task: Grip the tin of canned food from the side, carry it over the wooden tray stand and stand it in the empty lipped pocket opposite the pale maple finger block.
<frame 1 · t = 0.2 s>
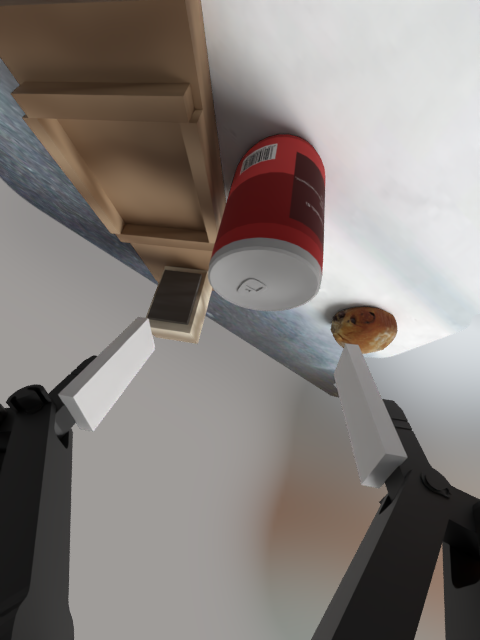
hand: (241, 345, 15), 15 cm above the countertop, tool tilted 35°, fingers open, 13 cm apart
wooden tray stand: (171, 203, 24), on the countertop
canned food: (278, 180, 20), on the countertop
bread roll: (360, 317, 40), on the countertop
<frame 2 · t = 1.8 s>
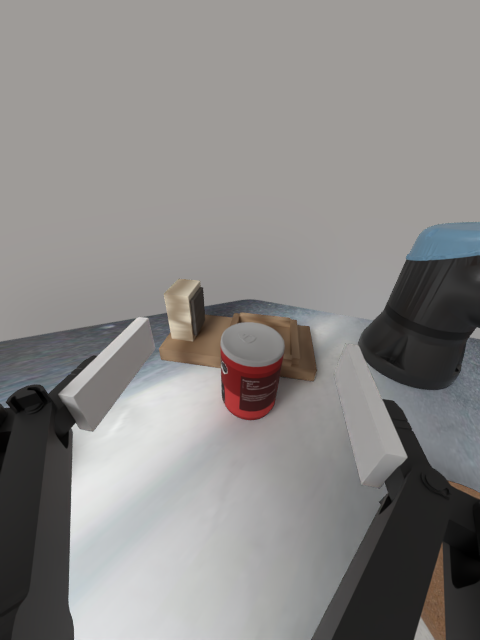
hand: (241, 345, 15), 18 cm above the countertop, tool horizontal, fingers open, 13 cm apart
wooden tray stand: (240, 347, 42), on the countertop
lidded jar: (431, 597, 18), on the countertop
canned food: (247, 398, 33), on the countertop
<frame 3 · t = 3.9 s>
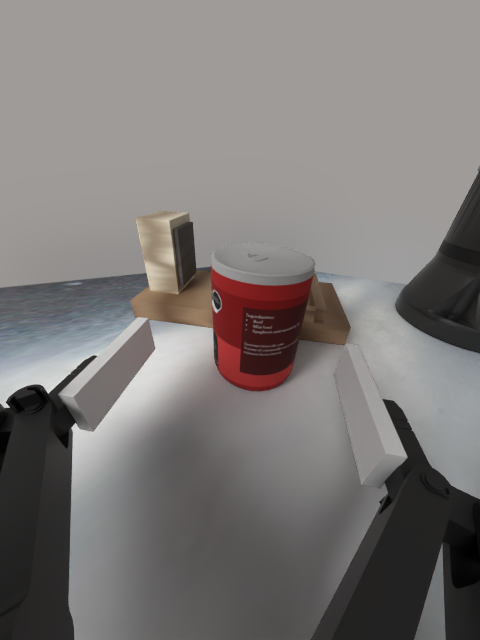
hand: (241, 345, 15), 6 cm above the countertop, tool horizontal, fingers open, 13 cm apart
wooden tray stand: (241, 306, 32), on the countertop
canned food: (252, 364, 23), on the countertop
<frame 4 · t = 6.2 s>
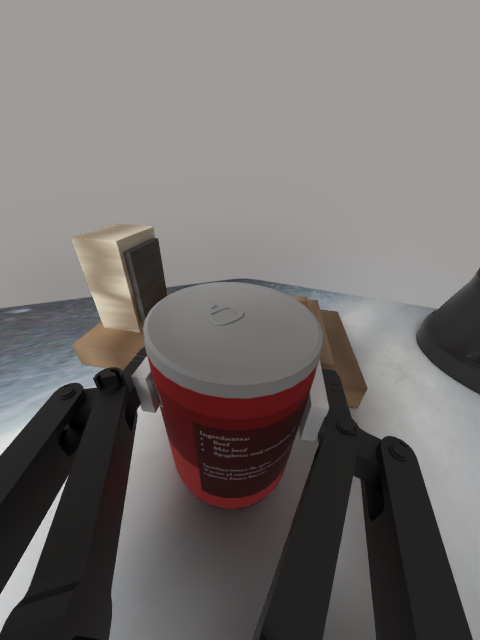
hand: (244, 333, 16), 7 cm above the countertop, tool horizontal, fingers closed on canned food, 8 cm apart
wooden tray stand: (223, 343, 25), on the countertop
canned food: (230, 446, 16), on the countertop, touching gripper
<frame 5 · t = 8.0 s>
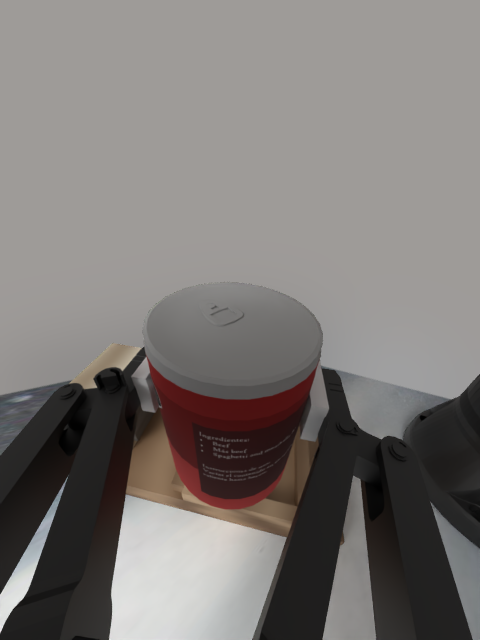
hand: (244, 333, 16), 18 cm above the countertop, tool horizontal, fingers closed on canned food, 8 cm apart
wooden tray stand: (213, 449, 26), on the countertop
canned food: (229, 447, 16), point 11 cm above the countertop, touching gripper
when the fingers open (10 cm above the countertop, at t = 10.2 s): canned food stays where it is, resting on wooden tray stand.
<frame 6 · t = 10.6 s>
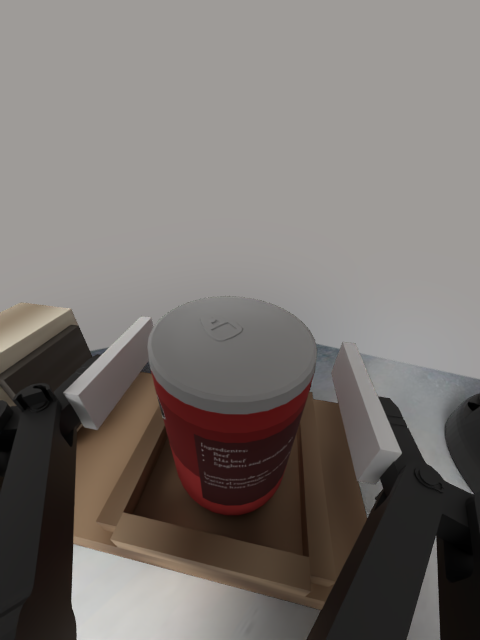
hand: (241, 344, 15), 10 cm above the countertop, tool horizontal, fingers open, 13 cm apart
wooden tray stand: (182, 458, 18), on the countertop
canned food: (230, 453, 17), point 2 cm above the countertop, touching wooden tray stand
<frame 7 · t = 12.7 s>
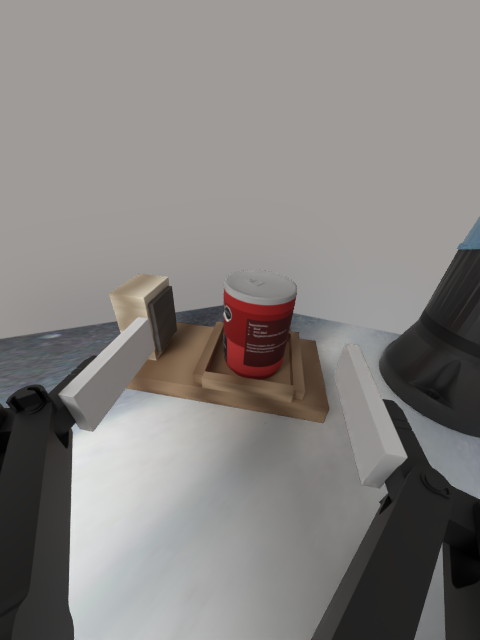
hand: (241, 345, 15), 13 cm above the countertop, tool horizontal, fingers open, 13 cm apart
wooden tray stand: (222, 367, 31), on the countertop
canned food: (252, 360, 30), point 2 cm above the countertop, touching wooden tray stand
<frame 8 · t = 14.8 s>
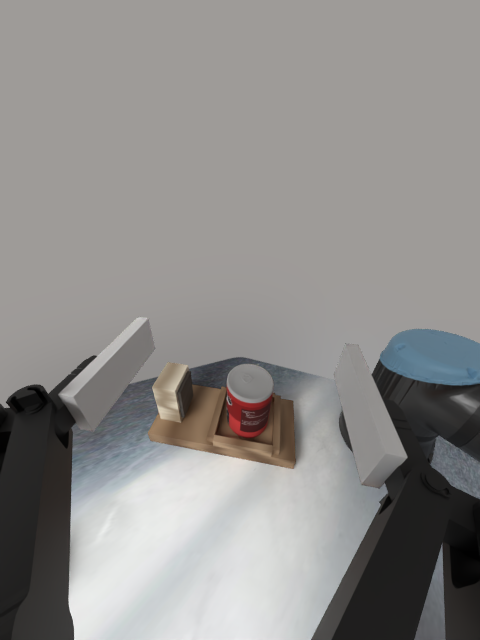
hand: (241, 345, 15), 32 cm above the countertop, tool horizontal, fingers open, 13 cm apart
wooden tray stand: (226, 423, 44), on the countertop
canned food: (246, 420, 43), point 2 cm above the countertop, touching wooden tray stand
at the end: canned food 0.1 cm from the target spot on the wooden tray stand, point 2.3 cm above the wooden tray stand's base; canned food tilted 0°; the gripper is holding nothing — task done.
